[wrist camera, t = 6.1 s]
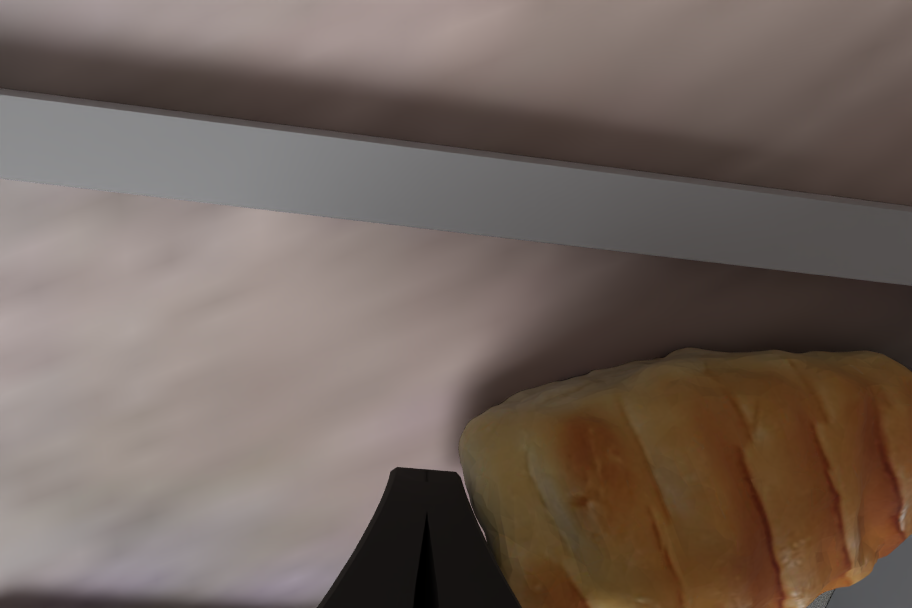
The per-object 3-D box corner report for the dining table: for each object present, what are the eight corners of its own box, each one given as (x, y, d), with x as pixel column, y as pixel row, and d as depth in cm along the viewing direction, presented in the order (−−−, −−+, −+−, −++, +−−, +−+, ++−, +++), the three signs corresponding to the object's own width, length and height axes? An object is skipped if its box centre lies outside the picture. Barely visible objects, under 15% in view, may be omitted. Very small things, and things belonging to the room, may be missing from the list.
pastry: (873, 250, 10) (1102, 327, 7) (894, 501, 13) (1073, 656, 9) (432, 404, 11) (431, 543, 8) (528, 611, 14) (561, 793, 10)
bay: (824, 692, 15) (915, 828, 12) (-22, 645, 13) (-147, 792, 10) (1076, 227, 10) (1320, 272, 7) (-174, 65, 9) (-475, 43, 6)
